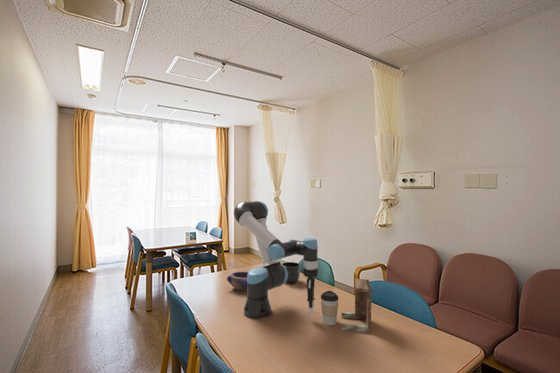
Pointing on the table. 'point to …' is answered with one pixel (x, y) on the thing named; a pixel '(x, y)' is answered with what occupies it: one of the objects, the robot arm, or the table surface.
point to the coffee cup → (329, 307)
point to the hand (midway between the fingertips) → (311, 312)
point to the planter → (292, 271)
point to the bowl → (238, 280)
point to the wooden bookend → (360, 307)
